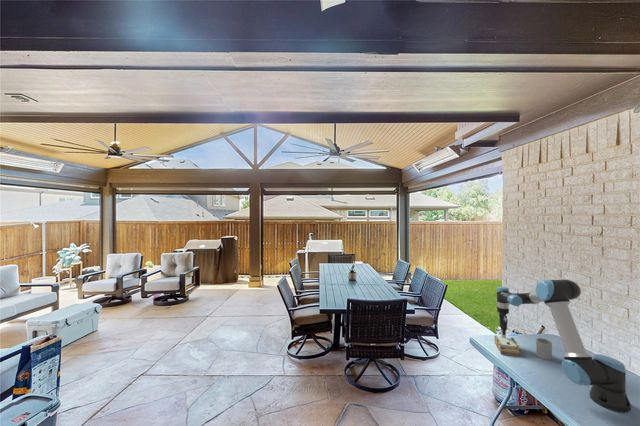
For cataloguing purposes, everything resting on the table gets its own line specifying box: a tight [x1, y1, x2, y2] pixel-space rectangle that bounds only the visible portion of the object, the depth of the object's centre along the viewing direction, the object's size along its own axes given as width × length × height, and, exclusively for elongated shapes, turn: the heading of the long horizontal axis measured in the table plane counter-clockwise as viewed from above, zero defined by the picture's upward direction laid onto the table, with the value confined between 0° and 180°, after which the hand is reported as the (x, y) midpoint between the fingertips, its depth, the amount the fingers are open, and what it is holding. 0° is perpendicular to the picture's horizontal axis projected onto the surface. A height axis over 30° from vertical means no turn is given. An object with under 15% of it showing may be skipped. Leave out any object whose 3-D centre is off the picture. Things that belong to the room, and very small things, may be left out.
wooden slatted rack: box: [494, 335, 522, 357], centre depth 202 cm, size 16×12×6 cm
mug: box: [535, 337, 553, 361], centre depth 193 cm, size 12×8×11 cm
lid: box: [497, 336, 517, 349], centre depth 203 cm, size 12×9×3 cm
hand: (503, 338), depth 211 cm, fingers closed
